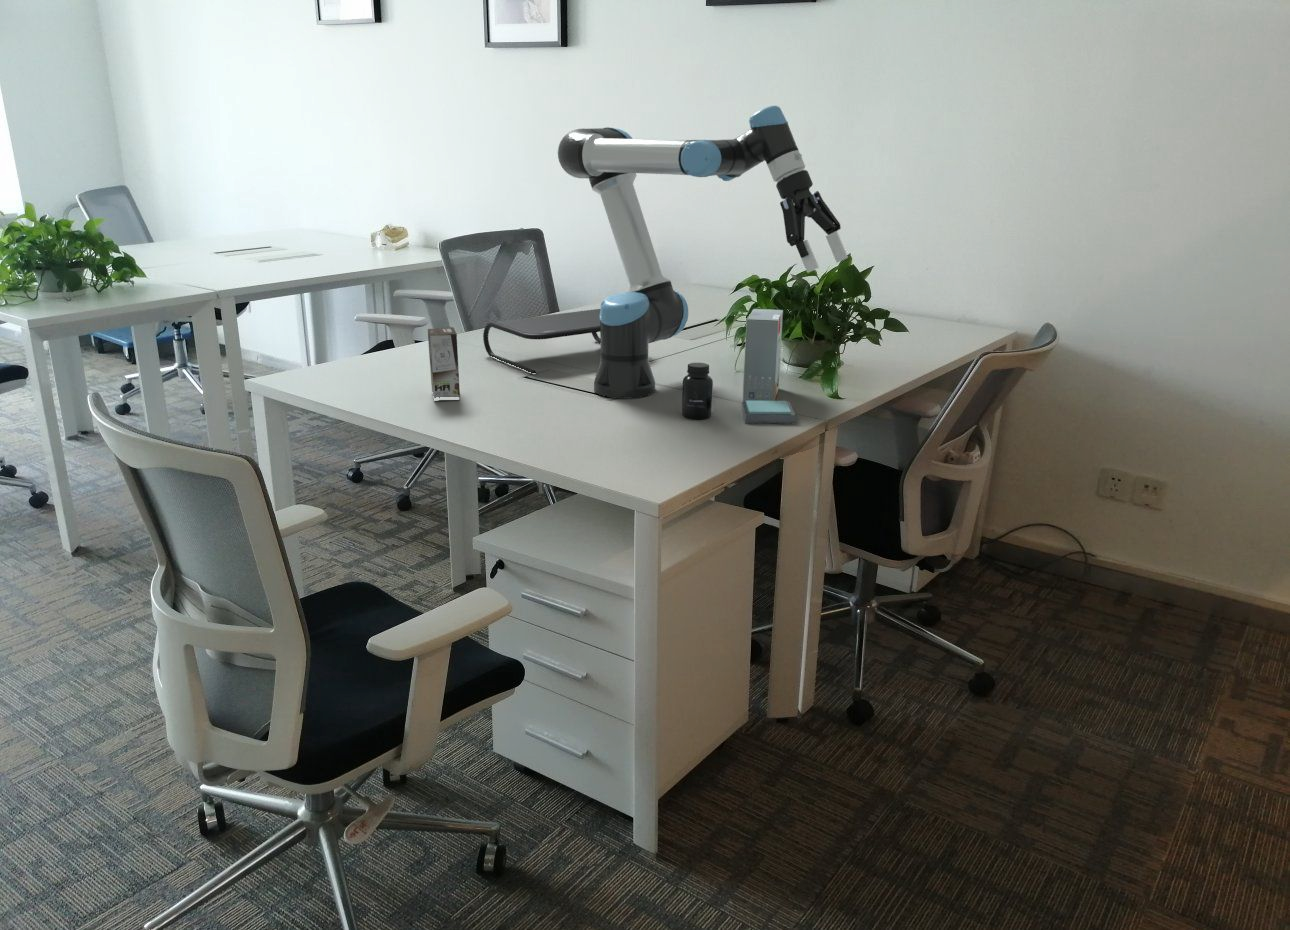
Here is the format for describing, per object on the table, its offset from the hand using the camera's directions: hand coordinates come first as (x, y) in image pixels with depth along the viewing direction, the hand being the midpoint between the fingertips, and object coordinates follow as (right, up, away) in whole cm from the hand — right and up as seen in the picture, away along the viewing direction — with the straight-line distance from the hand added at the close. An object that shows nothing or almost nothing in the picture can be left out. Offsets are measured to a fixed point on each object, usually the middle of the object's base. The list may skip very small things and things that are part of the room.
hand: (828, 265), depth 228 cm
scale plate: (-13, -32, +4) cm, 35 cm away
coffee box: (-89, -28, +20) cm, 95 cm away
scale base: (-13, -33, +4) cm, 36 cm away
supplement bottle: (-29, -33, +5) cm, 45 cm away
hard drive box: (-12, -27, +22) cm, 38 cm away
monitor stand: (-63, -14, +62) cm, 89 cm away
